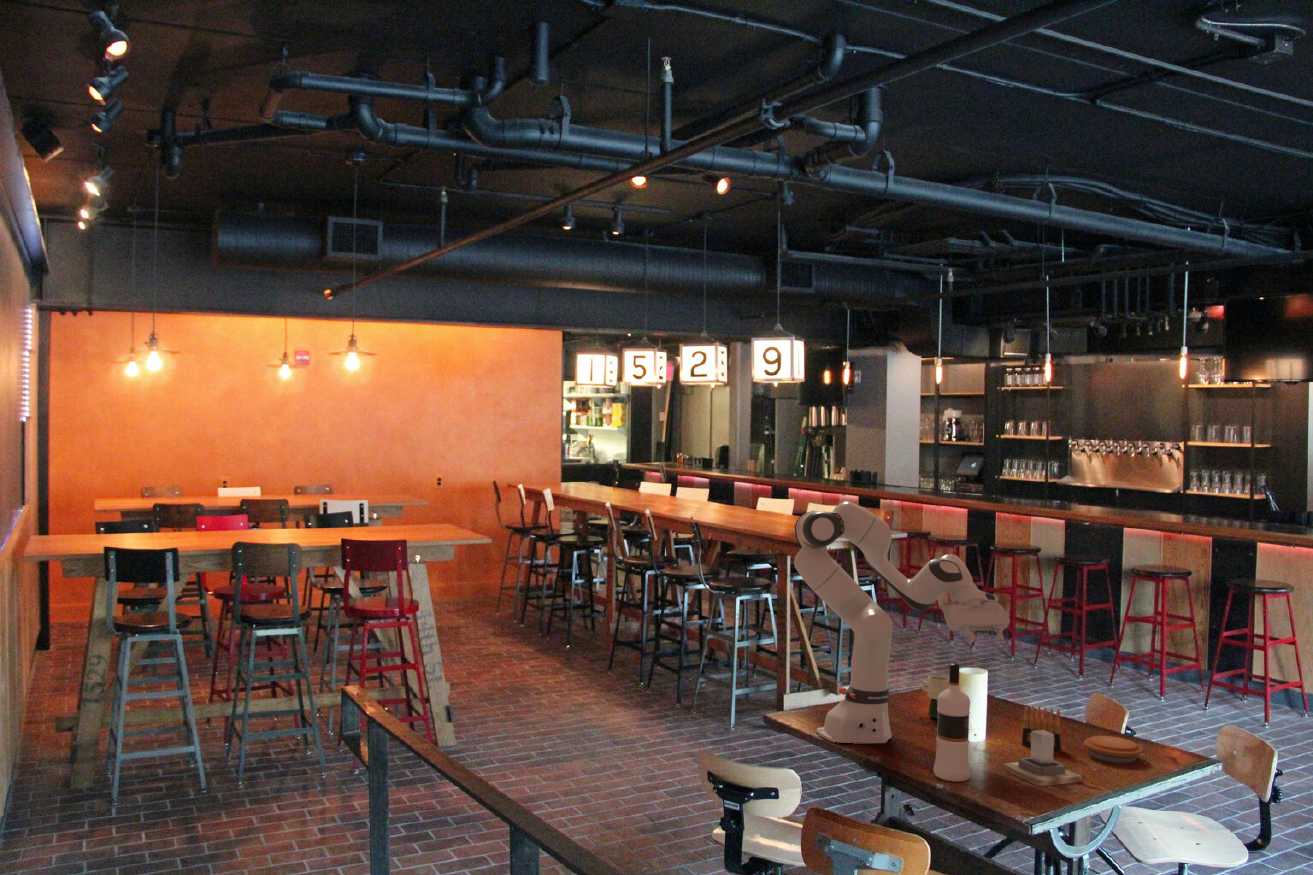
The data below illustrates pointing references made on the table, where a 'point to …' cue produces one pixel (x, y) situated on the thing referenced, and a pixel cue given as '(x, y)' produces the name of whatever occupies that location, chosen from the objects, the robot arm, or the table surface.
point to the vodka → (952, 731)
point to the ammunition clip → (1041, 726)
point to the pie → (1113, 749)
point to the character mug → (935, 692)
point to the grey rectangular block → (1042, 748)
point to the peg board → (1042, 773)
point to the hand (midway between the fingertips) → (987, 640)
